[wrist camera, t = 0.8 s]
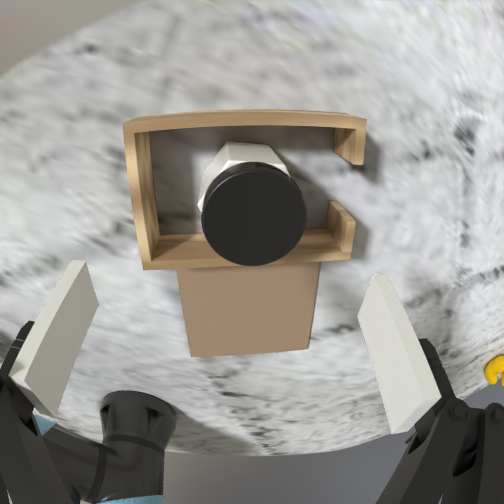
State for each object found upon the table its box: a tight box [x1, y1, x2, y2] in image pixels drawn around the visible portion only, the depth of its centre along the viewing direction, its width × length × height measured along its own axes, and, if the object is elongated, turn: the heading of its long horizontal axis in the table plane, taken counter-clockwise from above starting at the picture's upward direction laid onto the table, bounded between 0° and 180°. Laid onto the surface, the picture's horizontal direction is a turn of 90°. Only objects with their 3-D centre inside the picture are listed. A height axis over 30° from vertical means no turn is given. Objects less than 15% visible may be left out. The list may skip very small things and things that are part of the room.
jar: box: [198, 142, 307, 266], centre depth 29 cm, size 9×8×12 cm
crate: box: [123, 110, 367, 270], centre depth 32 cm, size 15×22×6 cm
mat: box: [177, 261, 320, 357], centre depth 43 cm, size 18×18×1 cm
